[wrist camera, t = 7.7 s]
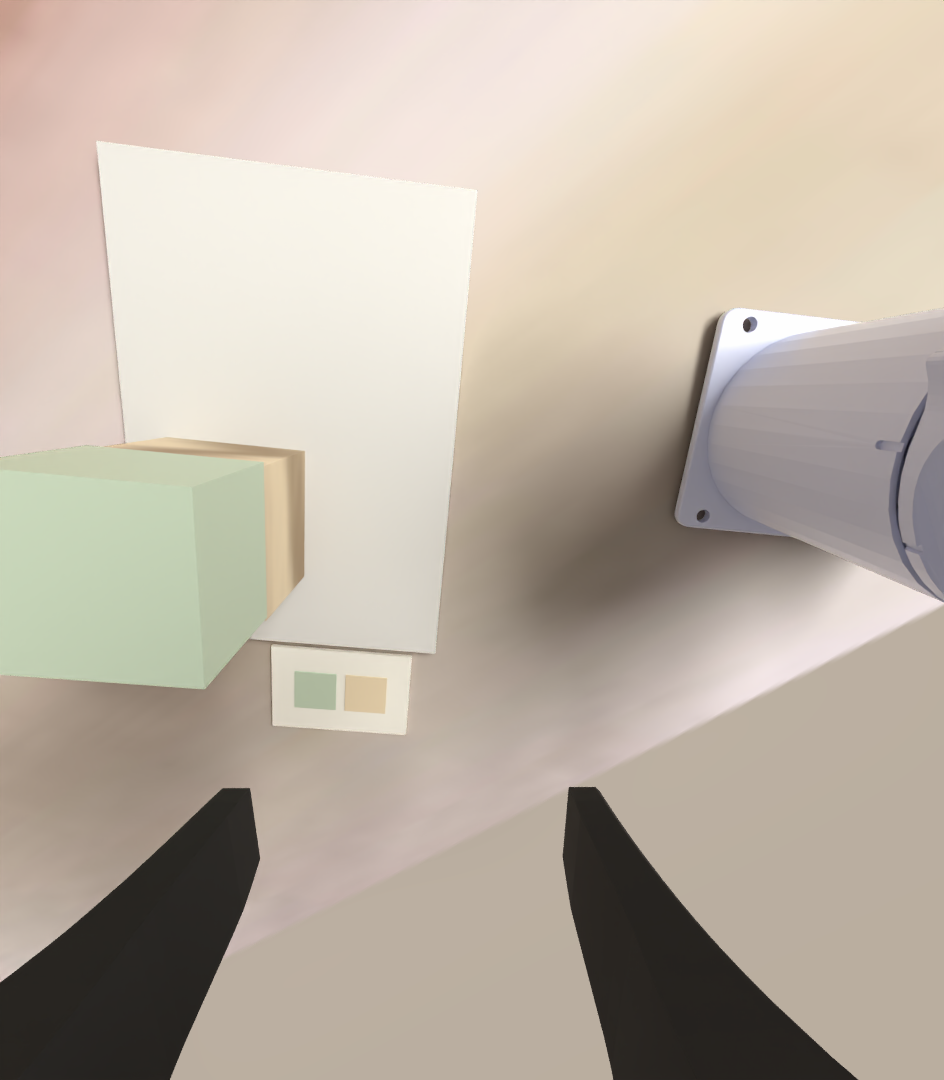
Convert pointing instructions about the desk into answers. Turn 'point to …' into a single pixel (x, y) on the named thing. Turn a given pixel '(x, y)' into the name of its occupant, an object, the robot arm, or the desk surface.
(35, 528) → the sage block
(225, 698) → the desk surface
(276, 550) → the beech block
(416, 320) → the plate
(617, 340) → the desk surface
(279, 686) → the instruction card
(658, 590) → the desk surface
